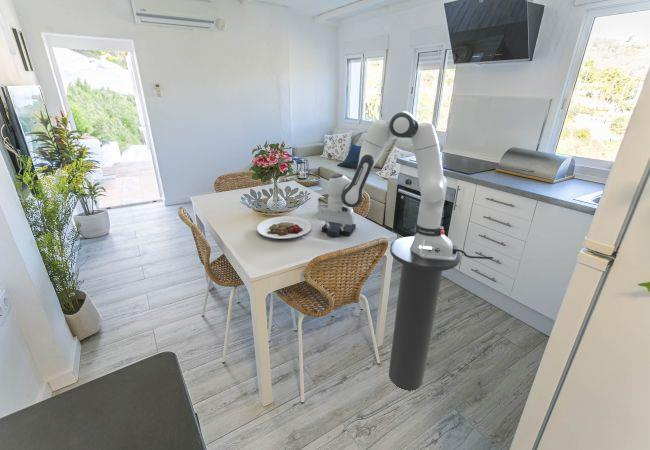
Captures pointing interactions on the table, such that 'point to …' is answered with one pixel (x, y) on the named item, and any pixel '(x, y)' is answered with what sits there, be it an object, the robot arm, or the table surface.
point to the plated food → (284, 227)
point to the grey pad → (334, 230)
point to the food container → (323, 200)
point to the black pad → (346, 229)
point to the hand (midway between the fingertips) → (335, 229)
